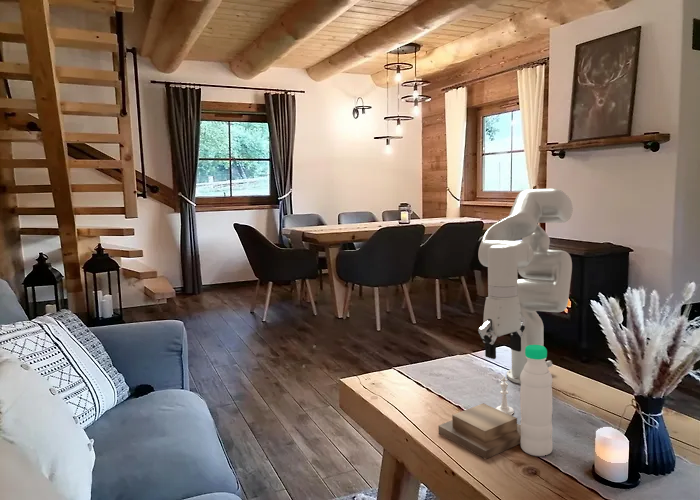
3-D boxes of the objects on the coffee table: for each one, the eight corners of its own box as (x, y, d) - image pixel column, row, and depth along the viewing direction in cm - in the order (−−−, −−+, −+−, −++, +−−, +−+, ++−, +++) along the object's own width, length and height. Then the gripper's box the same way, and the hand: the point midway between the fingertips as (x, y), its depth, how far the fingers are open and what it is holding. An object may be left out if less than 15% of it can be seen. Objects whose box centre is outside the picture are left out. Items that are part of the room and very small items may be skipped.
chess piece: (514, 416, 142) (514, 380, 141) (495, 415, 143) (495, 380, 142) (513, 408, 147) (512, 373, 145) (494, 407, 148) (494, 373, 146)
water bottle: (559, 454, 122) (559, 349, 119) (532, 460, 120) (532, 353, 117) (539, 440, 129) (539, 340, 125) (514, 445, 127) (513, 344, 123)
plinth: (483, 415, 143) (483, 397, 143) (532, 438, 130) (532, 418, 129) (438, 432, 135) (438, 414, 134) (485, 459, 121) (485, 438, 121)
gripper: (513, 285, 148) (514, 344, 150) (468, 293, 139) (469, 357, 141) (536, 288, 142) (536, 351, 144) (490, 298, 132) (491, 364, 135)
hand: (503, 354), depth 142 cm, fingers open, 9 cm apart
